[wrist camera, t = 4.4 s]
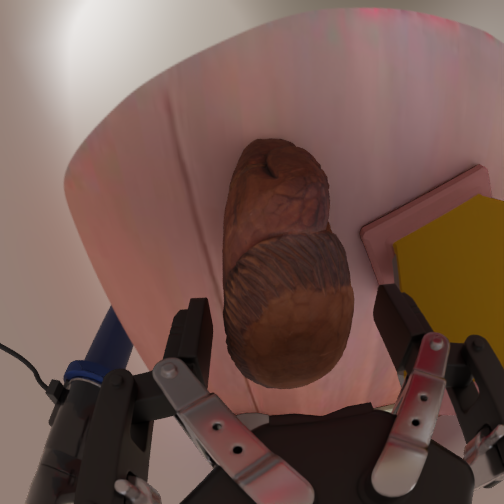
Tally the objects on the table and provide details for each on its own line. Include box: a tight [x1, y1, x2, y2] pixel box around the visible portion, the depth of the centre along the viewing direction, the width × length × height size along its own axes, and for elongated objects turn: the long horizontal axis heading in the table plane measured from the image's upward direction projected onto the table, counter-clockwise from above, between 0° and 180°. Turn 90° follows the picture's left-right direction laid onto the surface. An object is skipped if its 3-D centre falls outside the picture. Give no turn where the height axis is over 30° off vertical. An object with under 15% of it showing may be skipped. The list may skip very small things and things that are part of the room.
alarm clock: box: [360, 164, 504, 415], centre depth 19 cm, size 22×9×22 cm, turn 120°
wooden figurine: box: [222, 139, 354, 389], centre depth 19 cm, size 12×6×18 cm, turn 1°
